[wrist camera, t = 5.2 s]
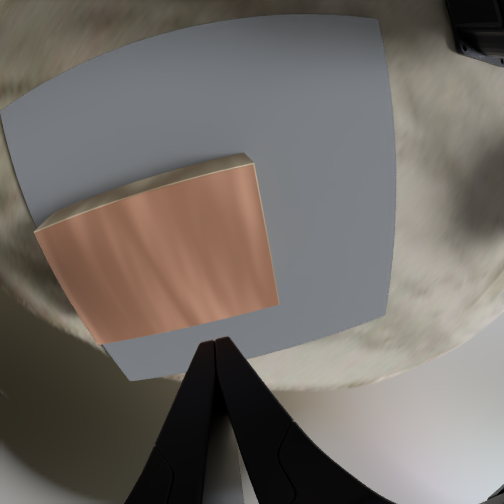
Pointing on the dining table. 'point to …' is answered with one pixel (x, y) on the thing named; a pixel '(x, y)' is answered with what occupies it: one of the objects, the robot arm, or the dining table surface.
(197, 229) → the maple tile
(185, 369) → the rubber mat
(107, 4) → the dining table surface
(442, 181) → the dining table surface
